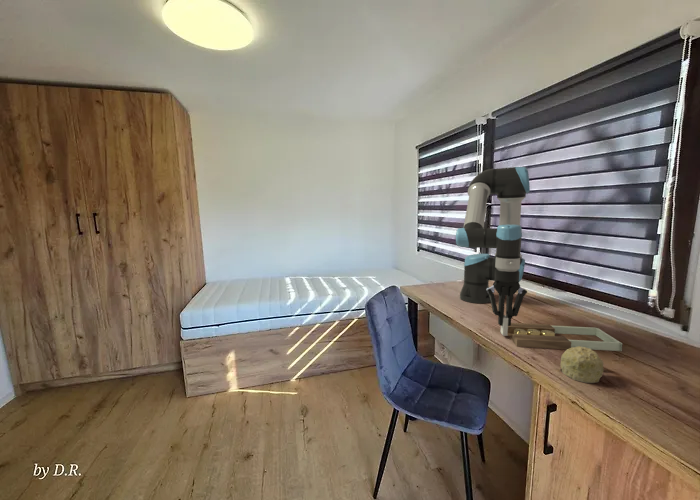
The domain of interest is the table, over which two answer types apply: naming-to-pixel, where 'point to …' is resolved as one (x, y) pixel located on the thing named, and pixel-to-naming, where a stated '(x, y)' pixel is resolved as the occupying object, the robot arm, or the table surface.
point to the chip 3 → (547, 333)
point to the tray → (595, 345)
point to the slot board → (537, 337)
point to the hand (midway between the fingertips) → (503, 333)
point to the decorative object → (582, 364)
